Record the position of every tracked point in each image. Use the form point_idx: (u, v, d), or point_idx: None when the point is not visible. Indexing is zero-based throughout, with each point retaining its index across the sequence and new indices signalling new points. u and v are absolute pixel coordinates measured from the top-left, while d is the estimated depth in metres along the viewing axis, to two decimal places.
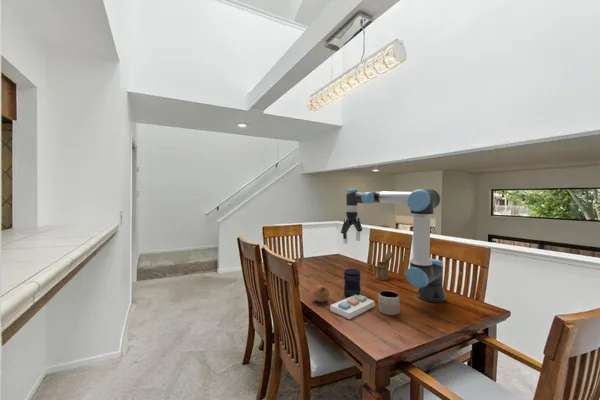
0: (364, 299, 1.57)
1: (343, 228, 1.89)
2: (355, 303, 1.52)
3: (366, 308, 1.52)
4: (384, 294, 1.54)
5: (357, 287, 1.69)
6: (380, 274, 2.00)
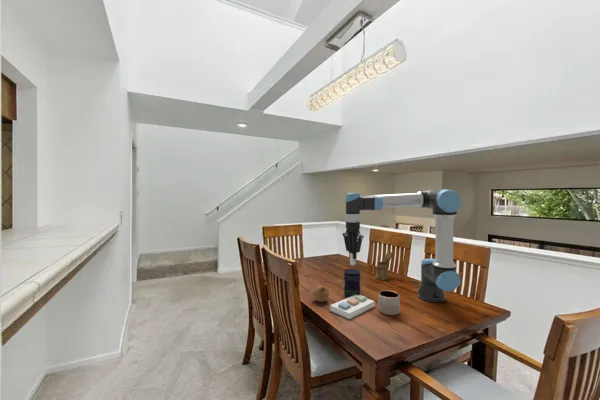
0: (364, 299, 1.57)
1: None
2: (355, 303, 1.52)
3: (366, 308, 1.52)
4: (384, 294, 1.54)
5: (357, 287, 1.69)
6: (380, 274, 2.00)
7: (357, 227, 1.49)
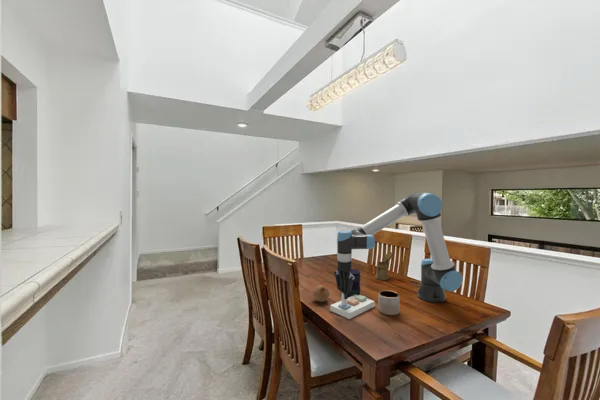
0: (364, 299, 1.57)
1: None
2: (355, 303, 1.52)
3: (366, 308, 1.52)
4: (384, 294, 1.54)
5: (357, 287, 1.69)
6: (380, 274, 2.00)
7: (348, 267, 1.45)
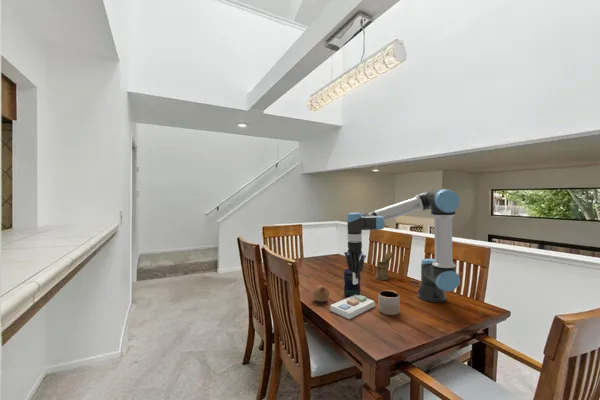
0: (364, 299, 1.57)
1: None
2: (355, 303, 1.52)
3: (366, 308, 1.52)
4: (384, 294, 1.54)
5: (357, 287, 1.69)
6: (380, 274, 2.00)
7: (359, 247, 1.50)
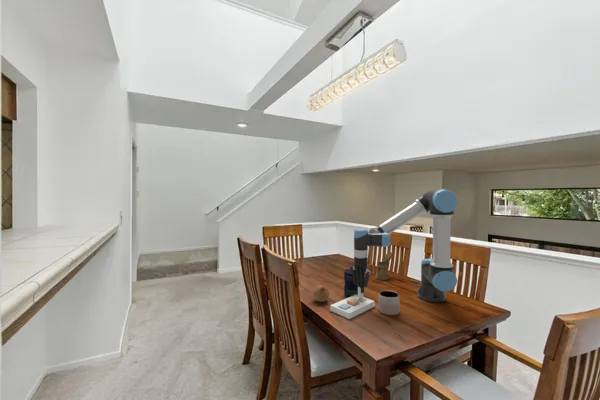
0: None
1: None
2: (355, 303, 1.52)
3: (366, 308, 1.52)
4: (384, 294, 1.54)
5: None
6: (380, 274, 2.00)
7: (365, 263, 1.54)
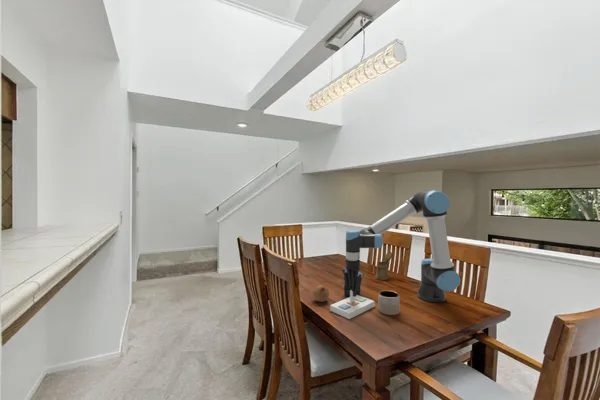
0: None
1: None
2: None
3: (366, 308, 1.52)
4: (384, 294, 1.54)
5: None
6: (380, 274, 2.00)
7: (357, 265, 1.50)
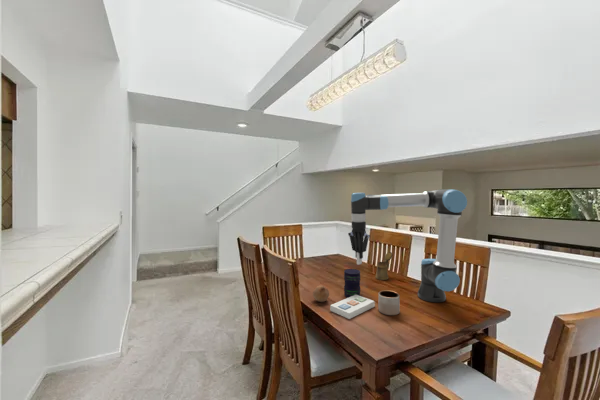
0: None
1: None
2: None
3: (366, 308, 1.52)
4: (384, 294, 1.54)
5: (357, 287, 1.69)
6: (380, 274, 2.00)
7: (363, 227, 1.50)
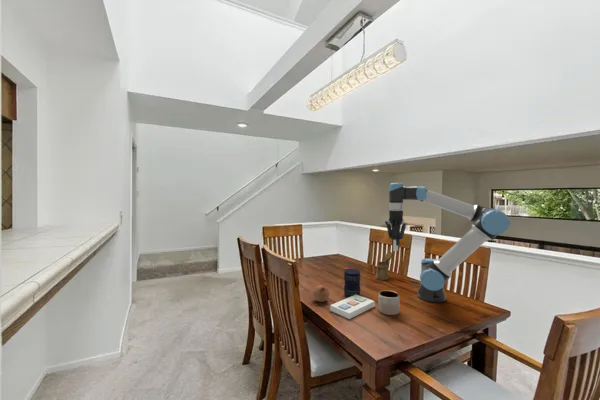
0: None
1: None
2: None
3: (366, 308, 1.52)
4: (384, 294, 1.54)
5: (357, 287, 1.69)
6: (380, 274, 2.00)
7: (401, 215, 1.58)
